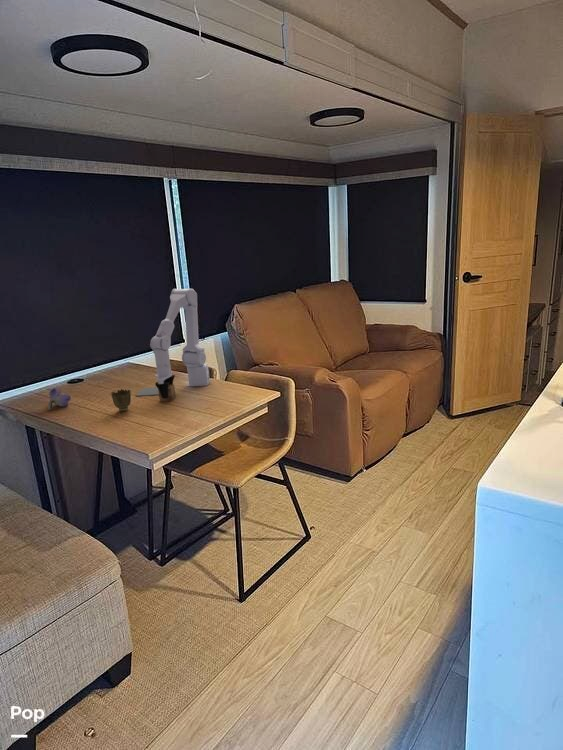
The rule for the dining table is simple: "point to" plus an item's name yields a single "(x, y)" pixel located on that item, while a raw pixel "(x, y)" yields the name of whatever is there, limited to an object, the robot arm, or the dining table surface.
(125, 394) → the cup
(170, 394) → the walnut cube
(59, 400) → the flower
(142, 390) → the mat
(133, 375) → the dining table surface
